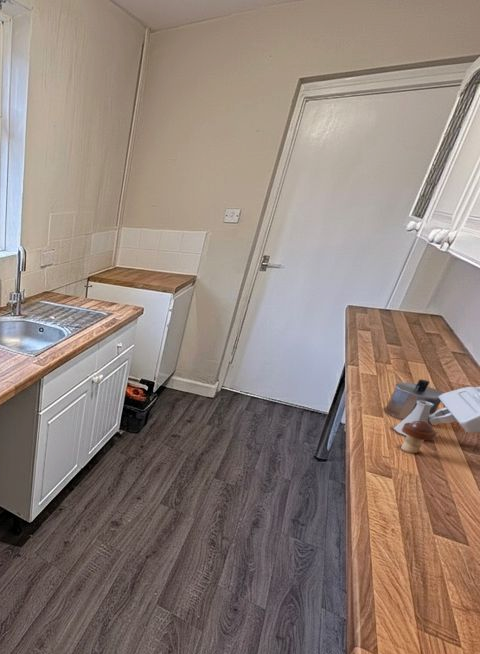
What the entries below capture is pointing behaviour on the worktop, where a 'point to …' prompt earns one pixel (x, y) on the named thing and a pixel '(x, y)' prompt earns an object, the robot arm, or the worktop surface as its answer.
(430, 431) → the mushroom
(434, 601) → the worktop surface
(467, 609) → the worktop surface
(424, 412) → the flask
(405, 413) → the pot
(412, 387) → the pot lid
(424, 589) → the worktop surface
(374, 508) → the worktop surface
